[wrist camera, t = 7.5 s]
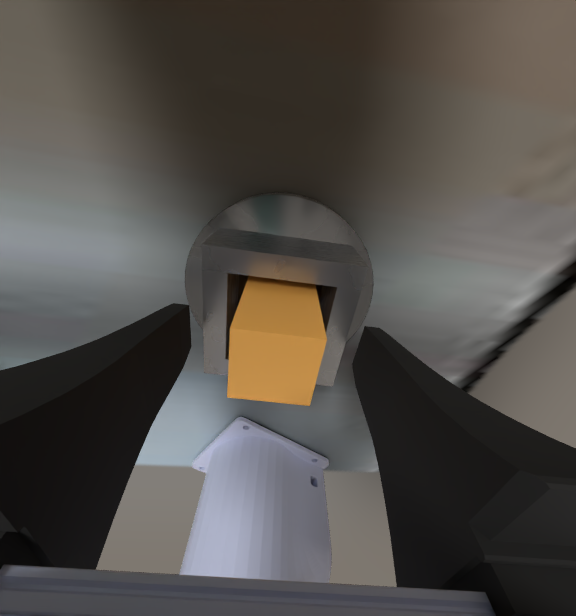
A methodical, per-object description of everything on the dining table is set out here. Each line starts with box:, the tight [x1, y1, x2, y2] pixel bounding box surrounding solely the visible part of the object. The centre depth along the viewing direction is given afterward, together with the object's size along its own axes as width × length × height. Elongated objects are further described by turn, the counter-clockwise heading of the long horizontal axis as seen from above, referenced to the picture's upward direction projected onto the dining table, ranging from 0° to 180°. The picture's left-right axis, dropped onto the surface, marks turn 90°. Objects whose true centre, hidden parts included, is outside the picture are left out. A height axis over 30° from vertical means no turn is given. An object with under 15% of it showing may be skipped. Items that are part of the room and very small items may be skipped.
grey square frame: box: [185, 192, 373, 386], centre depth 13 cm, size 10×10×4 cm
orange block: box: [227, 276, 327, 406], centre depth 11 cm, size 3×3×6 cm
